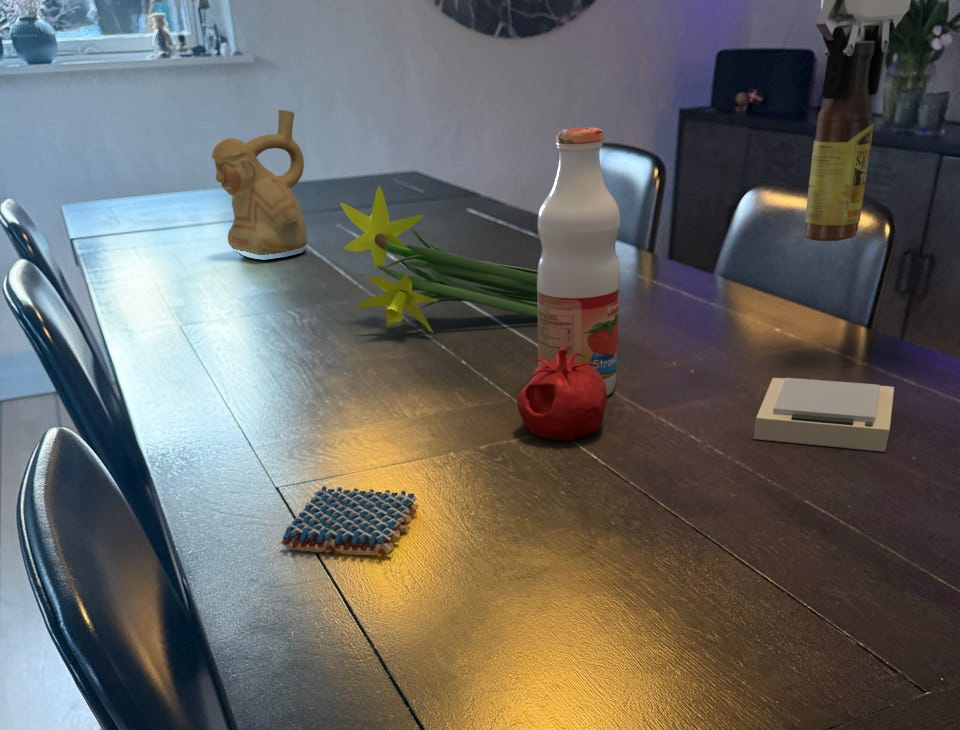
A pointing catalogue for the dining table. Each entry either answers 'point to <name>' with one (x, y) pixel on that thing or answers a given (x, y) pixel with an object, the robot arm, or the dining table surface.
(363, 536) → the woven mat
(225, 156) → the ceramic vessel
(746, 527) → the dining table surface
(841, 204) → the sauce bottle
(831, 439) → the scale
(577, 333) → the fruit juice
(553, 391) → the pomegranate
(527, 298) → the daffodil flowers
